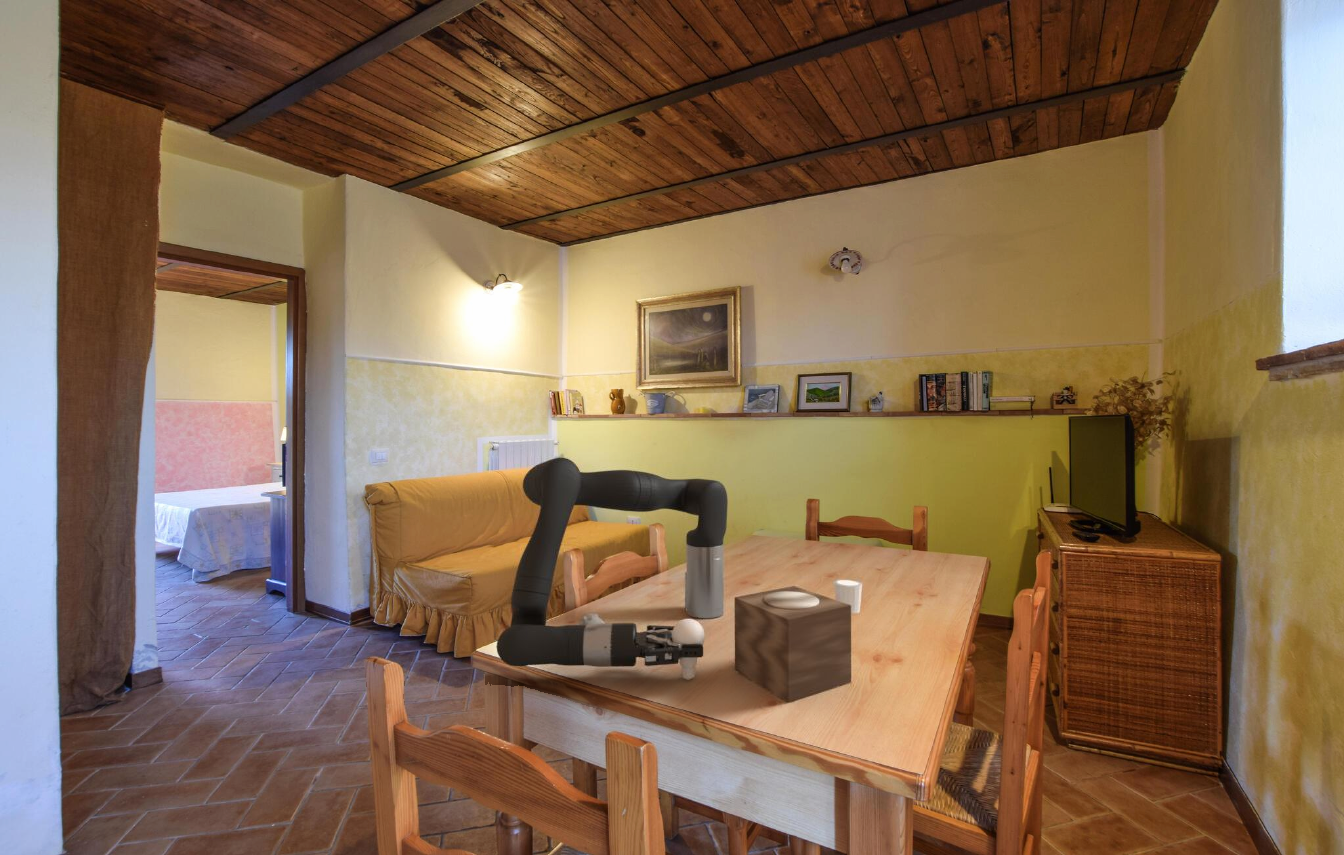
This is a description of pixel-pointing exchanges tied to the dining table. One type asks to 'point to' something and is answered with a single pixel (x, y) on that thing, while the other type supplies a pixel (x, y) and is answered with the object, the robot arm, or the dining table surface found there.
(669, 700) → the dining table surface
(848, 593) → the shot glass
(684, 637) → the lightbulb
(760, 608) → the lamp housing
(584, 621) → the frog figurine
